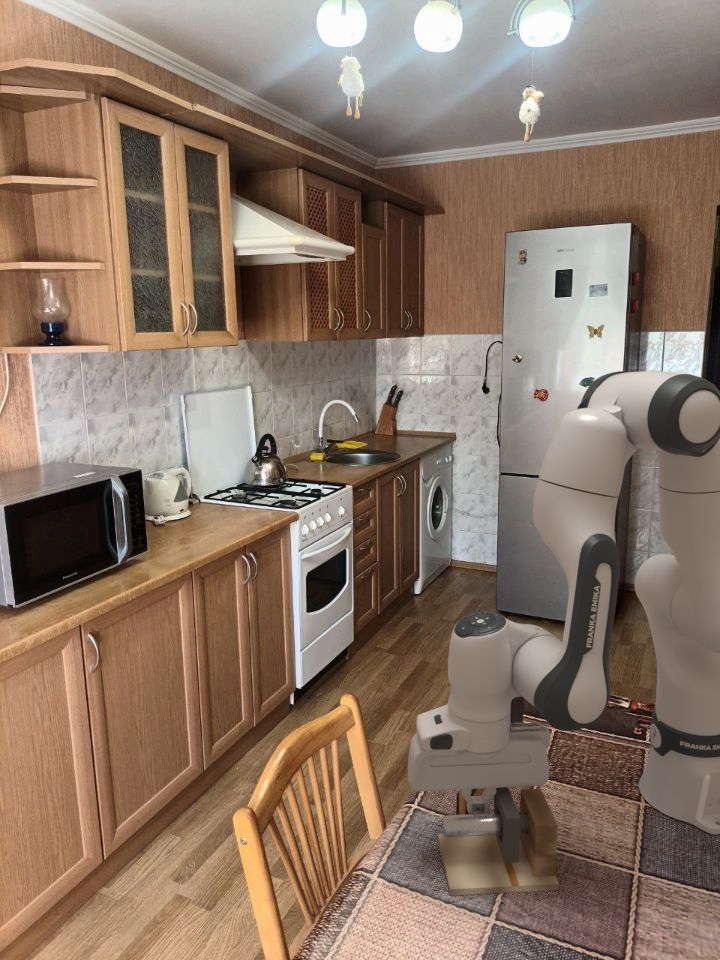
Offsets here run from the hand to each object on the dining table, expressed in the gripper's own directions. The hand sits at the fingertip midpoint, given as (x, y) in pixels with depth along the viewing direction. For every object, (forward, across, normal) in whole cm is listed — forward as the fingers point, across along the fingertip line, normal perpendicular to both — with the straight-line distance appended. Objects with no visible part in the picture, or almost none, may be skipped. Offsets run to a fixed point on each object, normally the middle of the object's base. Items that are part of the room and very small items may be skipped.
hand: (477, 810), depth 105 cm
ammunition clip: (+7, -2, -10) cm, 12 cm away
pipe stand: (+6, -2, +3) cm, 8 cm away
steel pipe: (+2, -1, +3) cm, 4 cm away
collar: (+4, -4, +3) cm, 6 cm away
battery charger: (+7, -12, -28) cm, 31 cm away
